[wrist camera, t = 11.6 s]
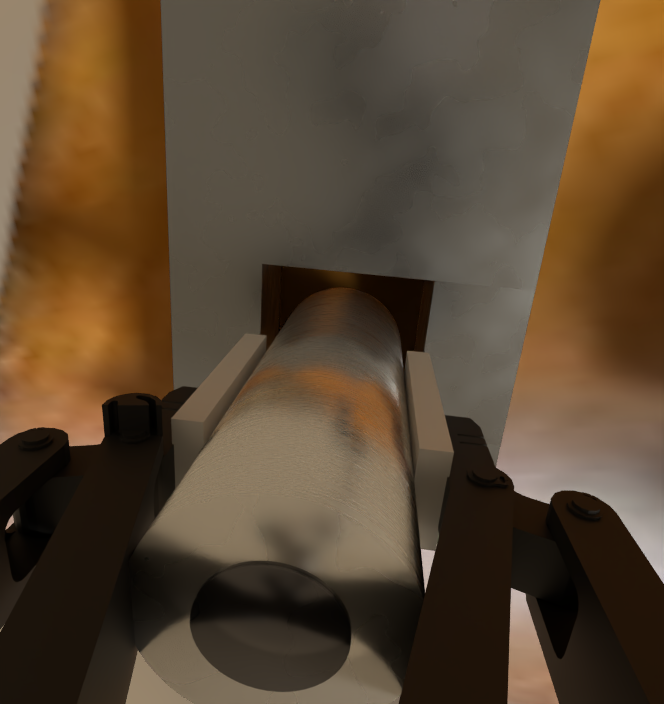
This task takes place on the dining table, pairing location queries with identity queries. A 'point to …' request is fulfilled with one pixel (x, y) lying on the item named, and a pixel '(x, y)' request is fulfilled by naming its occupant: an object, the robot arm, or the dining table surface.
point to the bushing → (293, 527)
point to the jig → (369, 168)
